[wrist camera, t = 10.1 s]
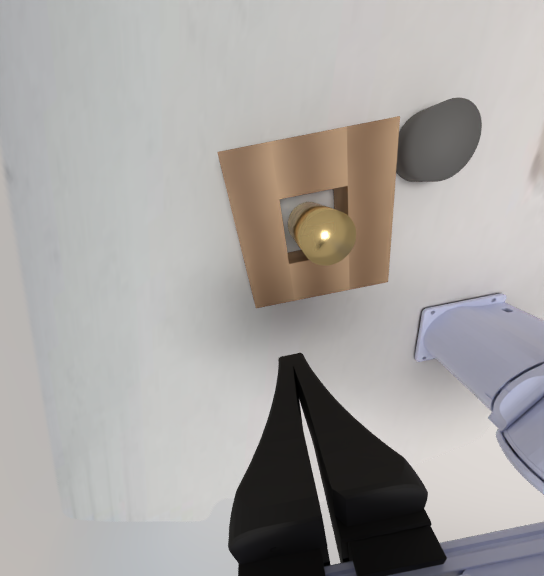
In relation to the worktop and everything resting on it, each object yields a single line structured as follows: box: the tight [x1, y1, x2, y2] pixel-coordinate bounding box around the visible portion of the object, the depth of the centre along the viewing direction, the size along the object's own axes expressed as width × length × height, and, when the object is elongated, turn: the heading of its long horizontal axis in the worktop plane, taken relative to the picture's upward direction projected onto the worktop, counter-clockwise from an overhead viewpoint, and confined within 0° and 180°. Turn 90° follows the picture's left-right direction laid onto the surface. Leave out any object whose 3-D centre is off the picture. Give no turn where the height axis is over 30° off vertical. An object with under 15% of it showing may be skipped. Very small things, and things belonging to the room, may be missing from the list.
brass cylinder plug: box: [288, 202, 356, 266], centre depth 17 cm, size 4×4×6 cm
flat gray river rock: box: [396, 98, 482, 182], centre depth 17 cm, size 5×5×2 cm
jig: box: [218, 116, 400, 308], centre depth 18 cm, size 12×12×3 cm
